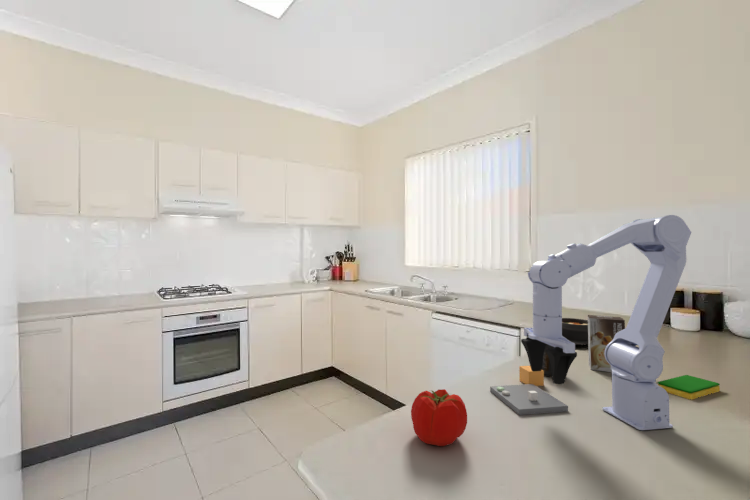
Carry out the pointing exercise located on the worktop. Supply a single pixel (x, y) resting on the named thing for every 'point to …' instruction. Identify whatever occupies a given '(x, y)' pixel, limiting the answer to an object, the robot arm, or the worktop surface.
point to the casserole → (575, 330)
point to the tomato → (438, 417)
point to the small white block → (532, 395)
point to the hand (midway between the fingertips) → (547, 376)
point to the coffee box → (601, 339)
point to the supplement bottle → (547, 362)
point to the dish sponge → (689, 386)
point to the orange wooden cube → (531, 376)
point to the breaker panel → (521, 404)
